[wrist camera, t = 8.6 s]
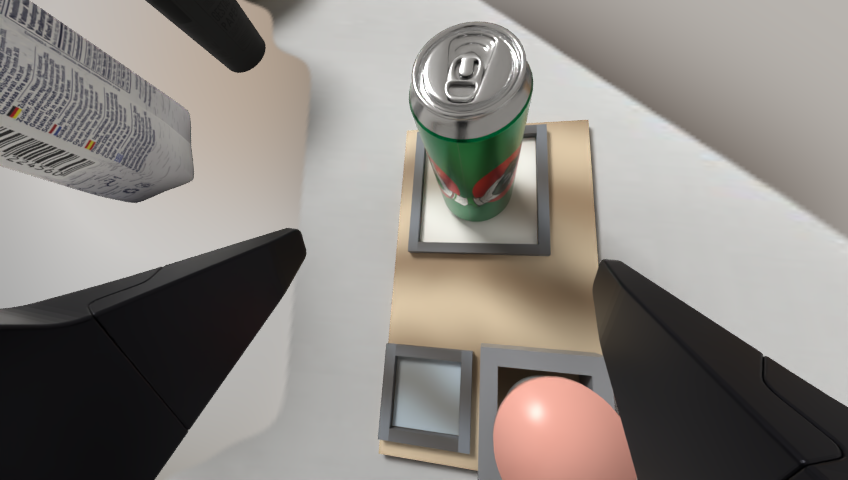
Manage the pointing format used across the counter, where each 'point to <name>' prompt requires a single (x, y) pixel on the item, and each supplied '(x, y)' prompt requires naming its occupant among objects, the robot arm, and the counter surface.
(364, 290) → the counter surface
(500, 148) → the soda can
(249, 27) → the drinking cup
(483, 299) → the board
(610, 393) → the button housing
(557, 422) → the button
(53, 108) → the juice carton
